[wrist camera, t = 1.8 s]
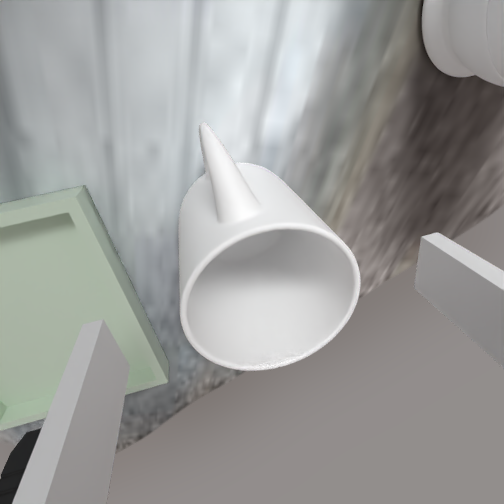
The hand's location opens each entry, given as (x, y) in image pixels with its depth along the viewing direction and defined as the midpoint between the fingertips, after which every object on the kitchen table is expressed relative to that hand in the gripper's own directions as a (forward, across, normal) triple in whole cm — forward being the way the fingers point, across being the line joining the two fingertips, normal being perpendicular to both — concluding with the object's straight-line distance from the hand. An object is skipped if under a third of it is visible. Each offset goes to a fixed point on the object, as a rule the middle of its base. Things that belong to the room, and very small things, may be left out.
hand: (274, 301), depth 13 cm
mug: (+12, 0, +1) cm, 12 cm away
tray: (+12, -17, -5) cm, 21 cm away
